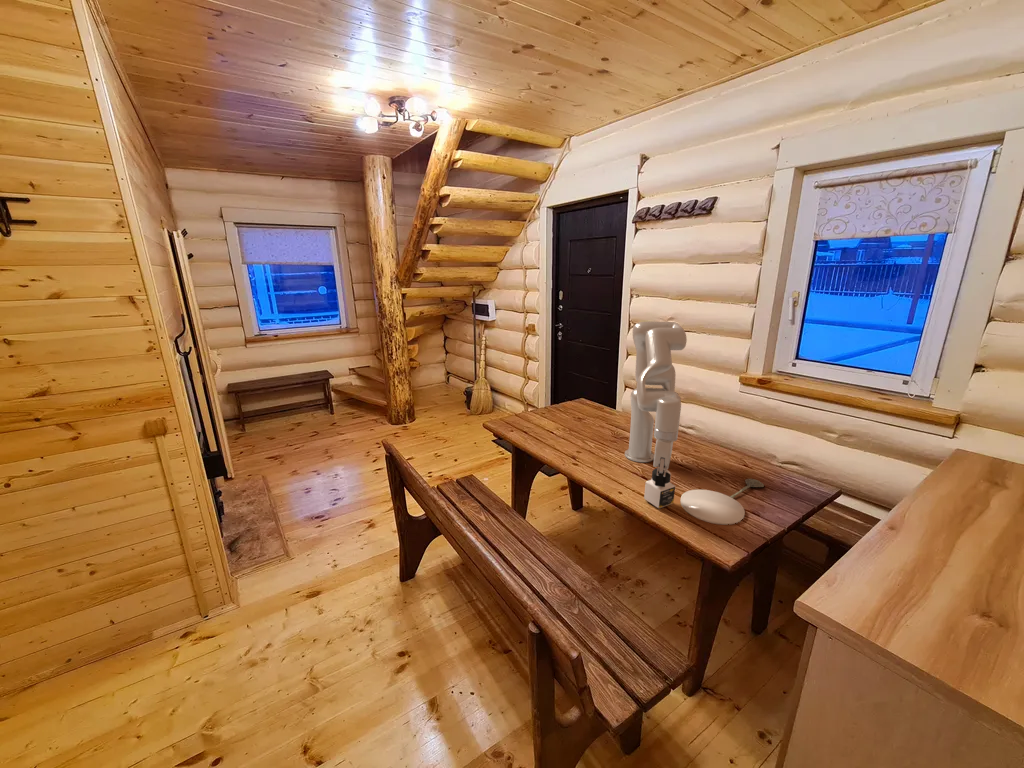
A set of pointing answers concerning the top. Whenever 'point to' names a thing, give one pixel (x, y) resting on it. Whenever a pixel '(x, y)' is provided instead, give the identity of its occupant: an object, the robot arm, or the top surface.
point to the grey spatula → (749, 485)
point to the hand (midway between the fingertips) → (660, 480)
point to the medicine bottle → (659, 491)
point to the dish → (712, 507)
